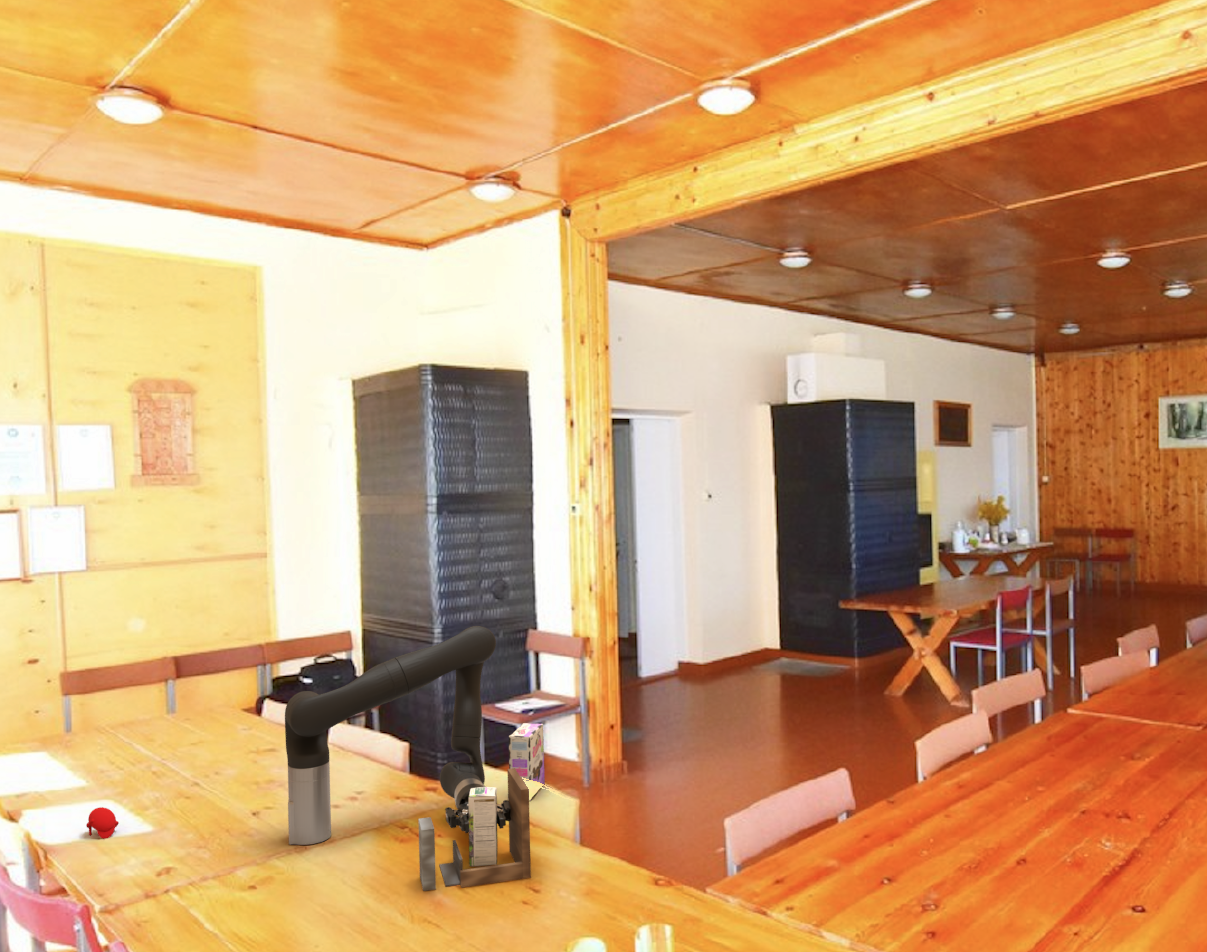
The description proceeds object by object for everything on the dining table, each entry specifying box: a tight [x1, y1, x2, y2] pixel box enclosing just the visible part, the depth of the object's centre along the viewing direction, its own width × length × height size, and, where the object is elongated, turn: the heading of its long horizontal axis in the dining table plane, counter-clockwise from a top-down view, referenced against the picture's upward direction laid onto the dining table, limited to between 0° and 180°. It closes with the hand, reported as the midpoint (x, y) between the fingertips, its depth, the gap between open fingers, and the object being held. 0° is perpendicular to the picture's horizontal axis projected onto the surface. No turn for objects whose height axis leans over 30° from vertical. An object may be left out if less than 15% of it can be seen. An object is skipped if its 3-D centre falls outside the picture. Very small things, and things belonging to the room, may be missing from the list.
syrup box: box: [468, 786, 498, 867], centre depth 196 cm, size 6×6×14 cm
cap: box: [86, 806, 120, 840], centre depth 222 cm, size 8×6×6 cm
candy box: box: [508, 722, 546, 785], centre depth 245 cm, size 14×6×16 cm, turn 168°
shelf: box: [418, 768, 532, 892], centre depth 195 cm, size 22×15×18 cm
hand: (484, 826), depth 194 cm, fingers closed on syrup box, 6 cm apart
